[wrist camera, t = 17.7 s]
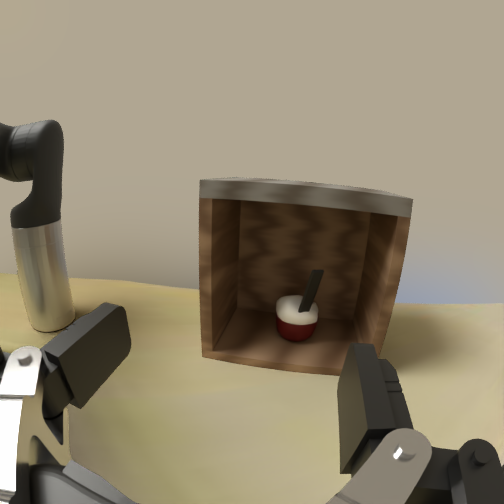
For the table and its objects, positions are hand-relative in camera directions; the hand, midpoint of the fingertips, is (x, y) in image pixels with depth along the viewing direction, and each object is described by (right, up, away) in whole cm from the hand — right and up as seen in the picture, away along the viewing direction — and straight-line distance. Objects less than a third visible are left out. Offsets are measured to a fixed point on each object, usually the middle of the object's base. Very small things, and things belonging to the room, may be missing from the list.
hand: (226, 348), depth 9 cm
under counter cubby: (+7, -10, +32) cm, 34 cm away
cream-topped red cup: (+7, -9, +31) cm, 33 cm away
